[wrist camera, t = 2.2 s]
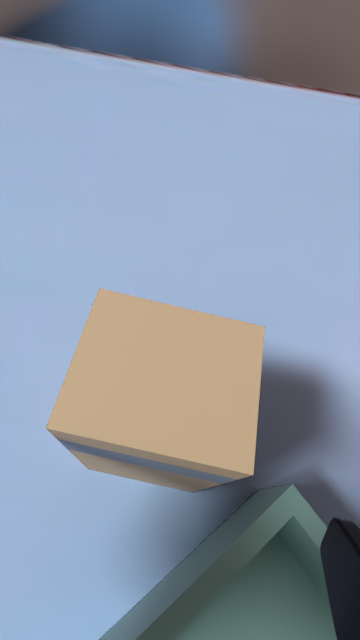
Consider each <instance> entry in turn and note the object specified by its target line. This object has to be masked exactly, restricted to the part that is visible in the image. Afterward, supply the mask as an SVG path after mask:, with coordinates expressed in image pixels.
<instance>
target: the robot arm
mask: <svg viewBox="0 0 360 640" xmlns="http://www.w3.org/2000/svg"><path fill="white" fill-rule="evenodd" d="M320 555H321V561H322V566H323V571H324V577H325V582H326V587H327V592H328V598H329V603H330V608H331V614H332V619H333V624H334V628H335V633H336V637H337V640H360V528H359V527H358V526H357V525H356V524H354V523H353V522H352V521H350V520H346V519H341V518H333V519H332V520H331V521H330V523H329V526H328V528H327V530H326V532H325V535H324V537H323V539H322V542H321V546H320Z"/></svg>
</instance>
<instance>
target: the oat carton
mask: <svg viewBox="0 0 360 640" xmlns="http://www.w3.org/2000/svg"><path fill="white" fill-rule="evenodd" d="M264 331H265V327H264V326H259V325H255V324H251V323H246V322H242V321H238V320H233V319H229V318H225V317H221V316H216V315H212V314H208V313H203V312H199V311H195V310H190V309H186V308H182V307H178V306H173V305H169V304H165V303H160V302H156V301H152V300H147V299H143V298H139V297H135V296H130V295H126V294H122V293H117V292H113V291H109V290H104V289H100V288H99V291H98V293H97V296H96V299H95V301H94V304H93V307H92V309H91V312H90V314H89V317H88V320H87V322H86V325H85V327H84V330H83V333H82V335H81V338H80V341H79V343H78V346H77V348H76V351H75V354H74V356H73V359H72V361H71V364H70V367H69V369H68V372H67V374H66V377H65V380H64V382H63V385H62V388H61V390H60V393H59V395H58V398H57V401H56V403H55V406H54V408H53V411H52V414H51V416H50V419H49V421H48V424H47V427H46V429H47V430H48V431H49V432H50V433H51V434H52V435H53V436H54V437H55V438H56V439H57V440H59V441H60V442H61V443H62V444H63V445H64V446H65V447H66V448H67V449H68V450H69V451H70V452H71V453H72V454H73V455H74V456H75V457H76V458H77V459H78V460H79V461H80V462H81V463H82V464H83V465H84V466H85V467H86V468H87V469H90V470H94V471H99V472H103V473H108V474H112V475H117V476H121V477H126V478H130V479H134V480H139V481H143V482H148V483H152V484H157V485H161V486H166V487H170V488H174V489H179V490H183V491H188V492H192V493H193V492H197V491H200V490H204V489H207V488H211V487H214V486H218V485H221V484H225V483H228V482H232V481H235V480H239V479H242V478H245V477H249V476H252V475H254V462H255V449H256V435H257V422H258V409H259V396H260V383H261V370H262V357H263V344H264Z"/></svg>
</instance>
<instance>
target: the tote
mask: <svg viewBox="0 0 360 640" xmlns="http://www.w3.org/2000/svg"><path fill="white" fill-rule="evenodd" d="M326 530H327V526H326V525H325V524H324V523H323V521H322V520H321V519H320V518H319V516H318V515H317V514H316V513H315V511H314V510H313V509H312V507H311V506H310V505H309V504H308V502H307V501H306V500H305V499H304V497H303V496H302V495H301V494H300V492H299V491H298V490H297V489H296V487H295V486H294V485H293V484H289V485H283V486H277V487H271V488H266V489H260V490H257V491H256V492H255V493H254V494H253V495H252V496H251V497H250V498H248V499H247V500H246V501H245V502H244V503H243V504H242V505H241V506H240V507H239V508H238V509H237V510H236V511H235V512H234V513H233V514H232V515H230V516H229V517H228V518H227V519H226V520H225V521H224V522H223V523H222V524H221V525H220V526H219V527H218V528H217V529H216V530H215V531H214V532H212V533H211V534H210V535H209V536H208V537H207V538H206V539H205V540H204V541H203V542H202V543H201V544H200V545H199V546H198V547H197V548H196V549H194V550H193V551H192V552H191V553H190V554H189V555H188V556H187V557H186V558H185V559H184V560H183V561H182V562H181V563H180V564H179V565H177V566H176V567H175V568H174V569H173V570H172V571H171V572H170V573H169V574H168V575H167V576H166V577H165V578H164V579H163V580H162V581H161V582H159V583H158V584H157V585H156V586H155V587H154V588H153V589H152V590H151V591H150V592H149V593H148V594H147V595H146V596H145V597H144V598H143V599H141V600H140V601H139V602H138V603H137V604H136V605H135V606H134V607H133V608H132V609H131V610H130V611H129V612H128V613H127V614H126V615H125V616H123V617H122V618H121V619H120V620H119V621H118V622H117V623H116V624H115V625H114V626H113V627H112V628H111V629H110V630H109V631H108V632H106V633H105V634H104V635H103V636H102V637H101V638H100V639H99V640H337V637H336V633H335V628H334V624H333V619H332V614H331V608H330V603H329V598H328V592H327V587H326V582H325V577H324V571H323V566H322V561H321V555H320V546H321V542H322V539H323V537H324V535H325V532H326Z"/></svg>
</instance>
